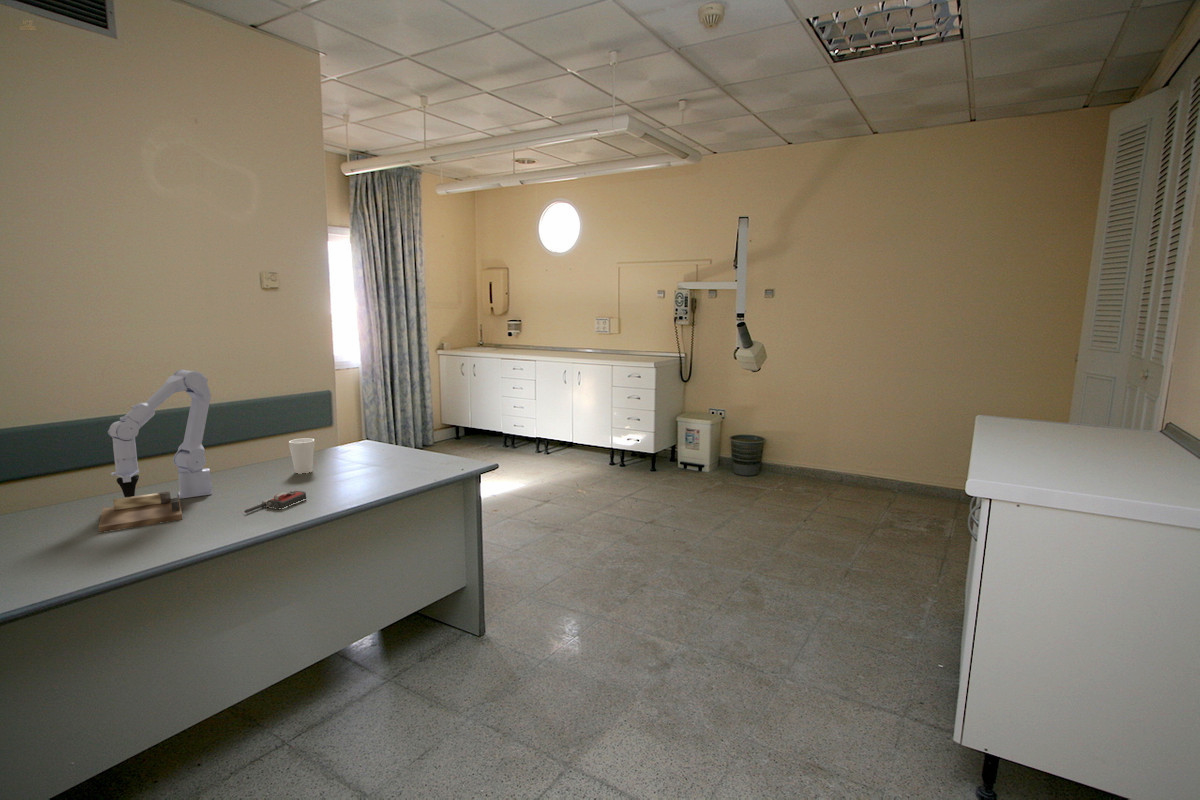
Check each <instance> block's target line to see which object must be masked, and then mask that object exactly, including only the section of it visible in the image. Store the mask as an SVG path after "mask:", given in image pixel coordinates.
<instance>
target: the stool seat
mask: <svg viewBox="0 0 1200 800" xmlns="http://www.w3.org/2000/svg"><path fill="white" fill-rule="evenodd" d="M181 519H182V520H183V513H182V505H181V499H179V497H174V498H171V502H168V503H160V504H153V505H146V506H140V507H133V508H126V509H119V510H114V506H110V507H104V508H103V507H102V511H101V514H100V519H99V524H98V533H99V532H102V533H105V532H104V531H108V532H111V531H110V530H114V531H119V530H118V529H120V530H125V529H124V528H127V529H132V528H131V527H133V528H139V527H145V526H151V525H150V524H152V525H156V524H155V523H158V524H161V523H160V522H164V523H168V522H167V521H170V522H175V521H174V520H176V521H182V520H181ZM144 525H145V526H144ZM138 526H139V527H138Z"/></svg>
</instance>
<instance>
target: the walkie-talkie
mask: <svg viewBox="0 0 1200 800" xmlns="http://www.w3.org/2000/svg"><path fill="white" fill-rule="evenodd" d="M303 499H306V500H307V493H306V491H301V490H289V491H288V492H285V491H283V492H280V493H278V494H275V495H274V496H273V497H271V498H268V499H265V500H262V501H261V503H260V504H258V505H255V506H253V507H250V508H247V509H245V510H244V513H246V514H248V513H250V512H254V511H255V510H258V509H260V508H267V507H274V508H276V509H275V510H279V509H278V508H284V507H286V506H289V505H291V504H293V503H296V502H298V501H301V500H303ZM264 506H266V507H264Z"/></svg>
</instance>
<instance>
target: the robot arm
mask: <svg viewBox="0 0 1200 800" xmlns="http://www.w3.org/2000/svg"><path fill="white" fill-rule="evenodd" d="M179 392H185V393H187V394H188V396H189V397H190V398H191V401H190V407H189V412H188V417H187V422H186V427H185V432H184V438H183V442H182V443H181V444H180V445H179V446H178V448H177V451H176V453H175V454H174V456H173V460H172V461H173V464H174V466H176V467H177V475H178V477H177V478H178V485H179V488H178V489H179V491H178V492H177V493H178V498H179V499H180V500H181V499H188V498H189V499H190V498H196V497H202V496H203V497H204V496H208V495H212V493H213V492H212V488H213V484H212V481H211V469H210V468H209V467H207V468H206V467H205V465H206V462H207V459H206V456H205V454H206V450H205V447H204V446H203V439H204V434H205V429H206V423H207V418H208V413H209V407H210V402H211V397H212V394H211V390H210V387H209V384H208V378H207V377H206V376H205V375H204V374H203V373H202V372H200V371H196V370H194V371H192V370H187V369H179V370H176V371H175V372H174V373H173V374H171V375H170V376H169V377H167V379H166V381H165V382H164V383H163V384H162V385H161V386H160V387H159V388H158V389H157V390H156V391H155V392H154V393H153V394H152V395H151V396H150V397H149V398H148V399H147V400H146V401H145V402H139V403H137V404H133V405H132V406H131V407H130V408H131V409H130V410H129V411H128V412H127V413H126V414H125V415H124V416H121V417H119V420H118V421H114V422H112V423H111V424H110V426H109V428H108V430H107V434H108V435H109V436H110V437H111V438H112V448H113V456H114V458H113V459H114V467H115V468H114V469H115V471H113V472H111V473H110V475H111V476H112V477H113V476H117V478H116V483H117V484H118V485H119V486H120V488H121V490H122V493H123V498H125V497H132V496H136V486H137V484H138V481H139V479H140V475H139V473H140V469H139V465H138V456H137V455H138V453H137V444H136V437H138V435H139V430H140V429H141V428H142V427H143V426H144V425H145V424H146V423H148V422H149V420H151V419H152V418H153V417H154V416H155V415H156V409H157V408H158V407H159V406H161V404H164V402H165V401H166V400H168V399H169V398H170V397H172V395H174V394H176V393H179ZM204 467H205V468H204Z"/></svg>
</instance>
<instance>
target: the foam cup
mask: <svg viewBox="0 0 1200 800" xmlns="http://www.w3.org/2000/svg"><path fill="white" fill-rule="evenodd" d="M315 446H316V442H315V438H309V437H308V438H307V437H306V438H305V437H304V438H303V437H302V438H295V439H292V440H289V441H288V448H289V451H290V455H291V459H292V460H291V461H292V465H293V468H294V469H293V470H294V473H295V474H296V473H298V475H303V474H302V473H306V474H310V473H312V472H313V465H314V464H313V463H314V456H315V455H314V453H315ZM309 472H310V473H309Z"/></svg>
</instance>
